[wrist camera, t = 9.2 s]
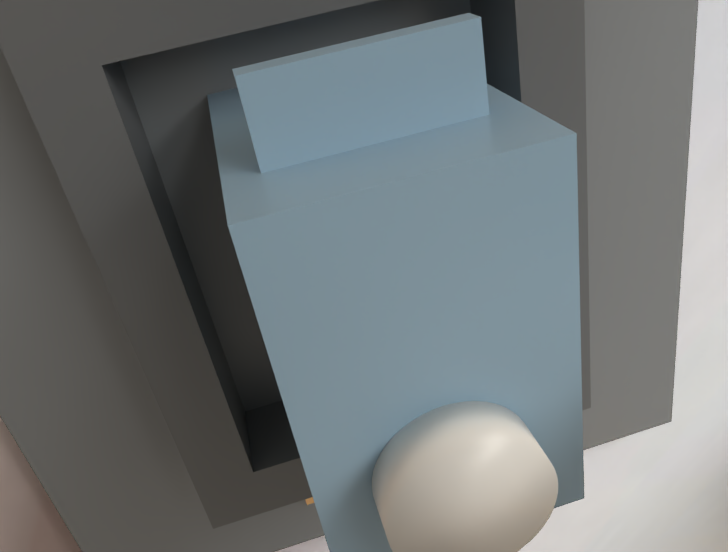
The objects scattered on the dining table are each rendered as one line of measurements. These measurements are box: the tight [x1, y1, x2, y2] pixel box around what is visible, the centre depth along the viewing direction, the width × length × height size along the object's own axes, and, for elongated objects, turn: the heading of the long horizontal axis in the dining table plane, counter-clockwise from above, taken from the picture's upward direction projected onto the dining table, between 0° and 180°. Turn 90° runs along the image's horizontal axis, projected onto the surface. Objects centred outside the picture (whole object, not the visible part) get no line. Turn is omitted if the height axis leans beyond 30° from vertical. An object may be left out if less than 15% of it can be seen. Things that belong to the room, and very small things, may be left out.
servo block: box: [207, 13, 584, 552], centre depth 11 cm, size 4×8×7 cm, turn 11°
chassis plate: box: [0, 0, 698, 552], centre depth 14 cm, size 16×18×3 cm
